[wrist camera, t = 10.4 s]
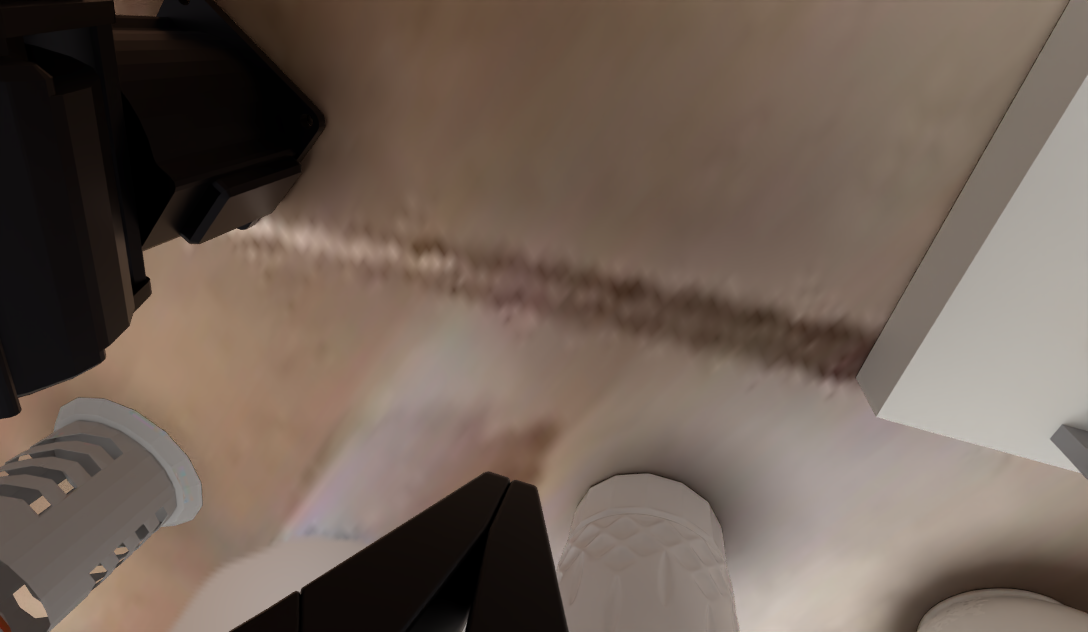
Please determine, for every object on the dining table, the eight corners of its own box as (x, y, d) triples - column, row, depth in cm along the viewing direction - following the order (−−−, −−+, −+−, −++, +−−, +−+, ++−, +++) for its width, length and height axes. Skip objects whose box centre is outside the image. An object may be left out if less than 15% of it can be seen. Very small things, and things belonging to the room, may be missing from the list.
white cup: (721, 454, 23) (746, 708, 14) (745, 584, 26) (778, 859, 17) (545, 466, 25) (475, 689, 17) (586, 584, 28) (544, 825, 20)
